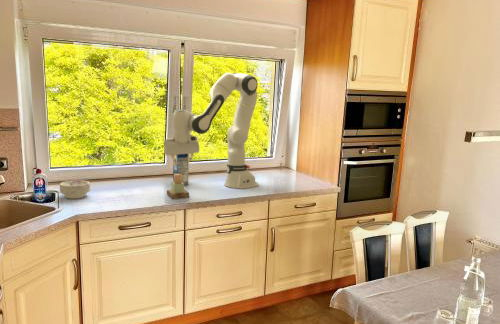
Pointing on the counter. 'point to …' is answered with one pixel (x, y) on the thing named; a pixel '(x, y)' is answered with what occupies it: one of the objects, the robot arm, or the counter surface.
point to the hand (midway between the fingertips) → (182, 161)
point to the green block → (177, 187)
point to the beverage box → (181, 167)
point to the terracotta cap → (177, 178)
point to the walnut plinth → (177, 194)
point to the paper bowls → (75, 188)
